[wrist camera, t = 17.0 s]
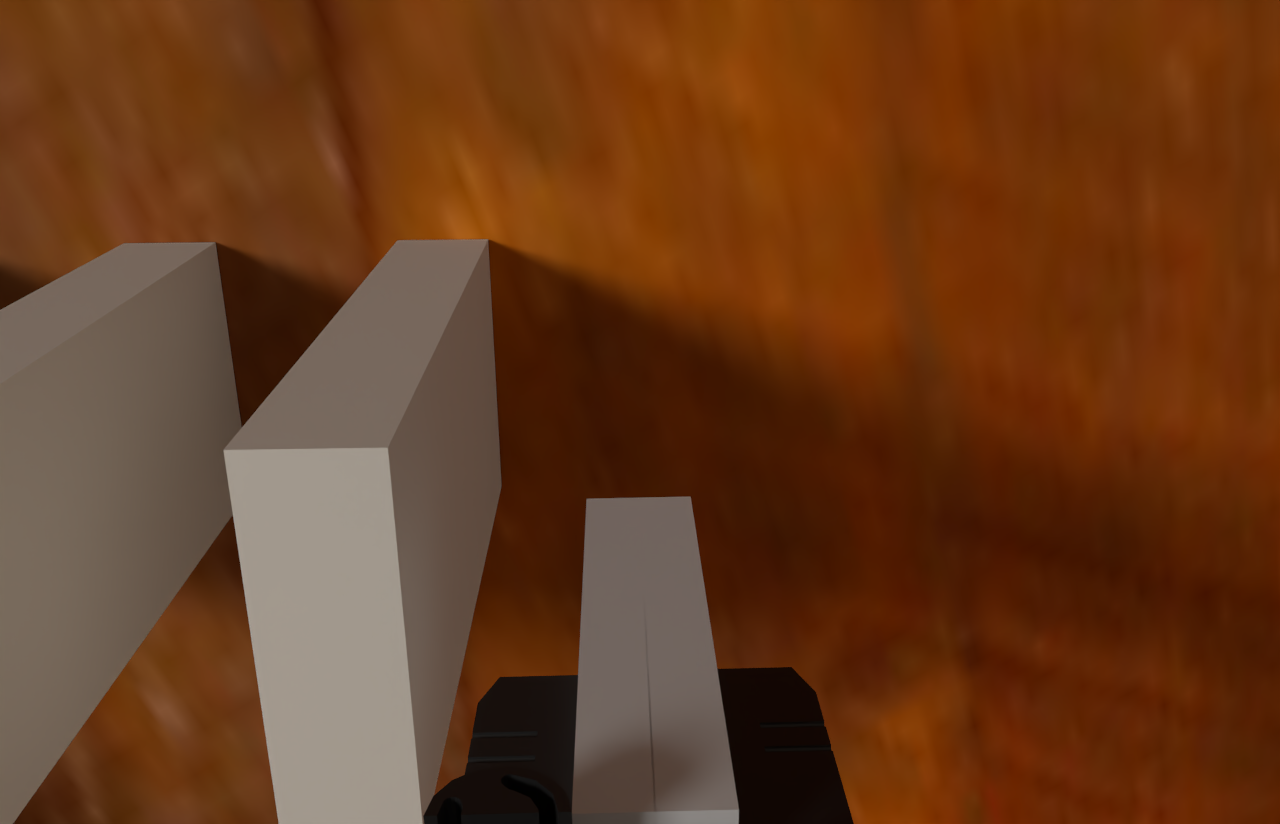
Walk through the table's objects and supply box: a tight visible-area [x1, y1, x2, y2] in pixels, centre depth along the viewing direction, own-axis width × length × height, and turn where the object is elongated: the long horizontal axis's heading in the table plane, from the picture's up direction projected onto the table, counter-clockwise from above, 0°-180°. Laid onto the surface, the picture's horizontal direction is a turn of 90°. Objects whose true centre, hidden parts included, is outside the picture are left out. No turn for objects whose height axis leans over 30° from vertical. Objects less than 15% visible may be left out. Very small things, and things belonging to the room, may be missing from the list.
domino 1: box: [0, 242, 242, 824], centre depth 20 cm, size 2×6×12 cm, turn 0°
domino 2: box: [223, 239, 502, 824], centre depth 20 cm, size 2×6×12 cm, turn 0°
